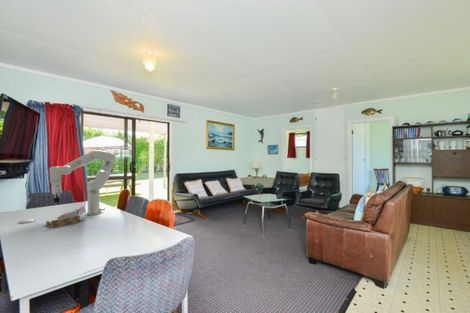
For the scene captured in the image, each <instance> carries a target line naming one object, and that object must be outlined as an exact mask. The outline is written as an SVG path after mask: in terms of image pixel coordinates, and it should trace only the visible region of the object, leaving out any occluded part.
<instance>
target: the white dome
mask: <svg viewBox="0 0 470 313" xmlns="http://www.w3.org/2000/svg"><path fill="white" fill-rule="evenodd" d="M36 221H37V220H36V218H25V219H21V220H19V223H18V224H29V223H34V222H36Z"/></svg>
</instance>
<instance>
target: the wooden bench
mask: <svg viewBox="0 0 470 313" xmlns="http://www.w3.org/2000/svg"><path fill="white" fill-rule="evenodd" d="M80 222H81V215H79V216H75V217H70V218H64V219H54V220H51V221H49V220H46V226H48V227H49V228H57V227H61V226H67V225H71V224H78V223H80Z"/></svg>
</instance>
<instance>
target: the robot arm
mask: <svg viewBox="0 0 470 313" xmlns="http://www.w3.org/2000/svg"><path fill="white" fill-rule="evenodd" d="M97 160H100V161H103V164H102V166H101V167H100V168H99V170H98V171H97V172H96V173H95V178H94V179H91V180H89V181H88V182H87V184H86V191H87V192H86V193H87V211H86V212H85V215H86V216H96V215H99V214H101V213H102V211H105V210H106V208H105V207H100V190H101V189H102V188H103V186H105V184H106V183H107V182H108V180H109V179H110V172H111V171H112V169H113V168H114V161H115V160H116V155H115V154H114V153H113V152H110V151H104V150H98V149H93V150H91V151H89V152H87V153H86V154H83V155H82V156H80V157H78V158H76V159H74V160H72V161H70V162H67V163H66V164H64V165H63V166H51V167H49V183H50V184H51V194H52V195H53V201H54V202H53V203H54V204H56V203H57V204H58V203H60V195H62V194H63V189H62V175H70V174H71V173H72V172H73V171H74V170H76V169H78V168H82V167H84V166H87V165H89V164H90V163H92V162H94V161H97Z"/></svg>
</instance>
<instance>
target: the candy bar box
mask: <svg viewBox="0 0 470 313" xmlns="http://www.w3.org/2000/svg"><path fill="white" fill-rule="evenodd" d="M86 212H87V210H86V208H85V206H82V207H81V206H80V207H79V208H75V209H73V210H70V211H67V212H65V213H62V214H61V215H59V216H57V217H56V218H57V219H56V220H58V219H64V218H70V217H75V216H82V214H84V213H86Z"/></svg>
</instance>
